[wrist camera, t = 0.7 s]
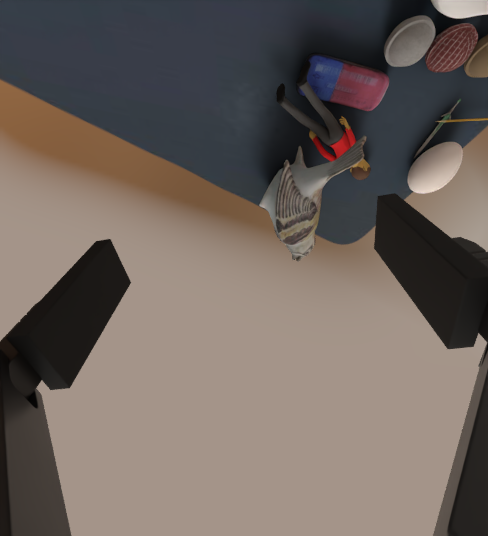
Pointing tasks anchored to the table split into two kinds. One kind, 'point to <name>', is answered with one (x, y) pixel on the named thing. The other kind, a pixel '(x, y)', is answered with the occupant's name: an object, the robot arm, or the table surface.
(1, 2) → the table surface
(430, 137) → the sword
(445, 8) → the water bottle
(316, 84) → the eraser
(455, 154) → the egg
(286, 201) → the figurine
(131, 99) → the table surface
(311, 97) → the person figure
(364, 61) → the table surface
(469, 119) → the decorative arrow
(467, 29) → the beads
